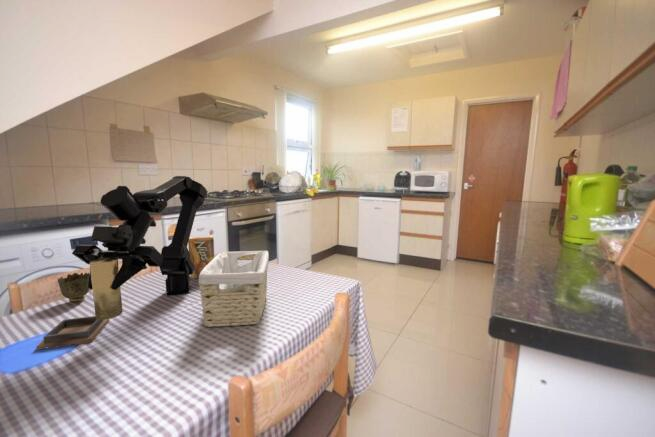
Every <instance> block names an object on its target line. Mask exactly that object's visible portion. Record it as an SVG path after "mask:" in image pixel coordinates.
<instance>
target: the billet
mask: <svg viewBox="0 0 655 437" xmlns="http://www.w3.org/2000/svg"><path fill="white" fill-rule="evenodd" d="M119 270H120V267H119V259H118V258H115V257H107V258H100V259H95V260H92V261H90V265H89V272H90V271H91V280H92V289H91V290H92V296H93V298H92V299H93V307H94V308H93V309H94V316H95V317H96V319H98V320H106V319H109V320H110V319H113V318H117V317H119V316H120V315H122V314H123V303H122V302H123V300H122V291H121V288H122V287H121V286H120V287H119V288H117V289H116V290H113V289H112V288H111V287H112V285H113V282H114V280H115V278H116V276H117V274H118V272H119Z"/></svg>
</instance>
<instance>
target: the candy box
mask: <svg viewBox="0 0 655 437" xmlns="http://www.w3.org/2000/svg"><path fill="white" fill-rule="evenodd" d="M187 246H188V251H189V253H190V260H191V261H192V263H193V264H194V265H195V269H194V272H193V274H190V279H199V275H200V273H201V271H202V270H203V268H204V267H205V266H206V265H208V264H209V263H210V262H211V261H212V260H213V259H214V258H215V240H214V236H213V235H209V236H208V235H207V236H204V235H203V236H192V237H191V236H190V237H189V241H188V245H187Z"/></svg>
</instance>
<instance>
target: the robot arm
mask: <svg viewBox="0 0 655 437" xmlns="http://www.w3.org/2000/svg"><path fill="white" fill-rule="evenodd" d="M177 195H179V200H180V203H181V208H180V211H179V214H178V218H177V221H176V224H175V228H174V233H173V236H172V238H171V242H170V244H168V245H164V246H163V247H162V248H161V250H160V251H161V252H160V251H158V249H157V248H156V247H155V246H154V245H145V244H146V242H147V240H146V239H145V236H146V234H147V232H148V230H149V228H150V227H153V228H155V227H157V223H156V221H155V218H154V216H151V215H150V214H160V213H162V212H163V211H164V210H165V209H166V208H167V207H168V202H169V200H171V199H173V198H174V197H176V196H177ZM207 195H208V190H207V188H206V187H205V186H204V185H203V184H202V183H200V182H198V181H196V180H194V179H193V178H191V177H190V176H189V175H176V176H173V177H172V178H171V179H169V180H168V181H165V182H164V183H162V184H161V185H159V186H157V187H155V188H153V189H145V190H144V189H143V190H140V191H136V192H134V193H132V192H131V189H130V188H129V187H128V186H127V185H118V186H117V187H116V188H115V189H111V190H109V191H108V192H106V193H105V194H103V195H102V196H101V197H100V204H101V205H102V206H103V207H104V208H105V209H106V210H107V211H108V212H109V213H111V214H112V216H113V217H114V218H115V219H116V220H119V221H123V222H122V223H121V224H119V225H118V226H108V225H107V226H106V225H105V226H103V225H102V226H99V225H98V226H97V225H95V226H93V230H92V234H91V236H90V241H93V242H96V241H97V242H100V243H102V244H101V246H102V247H104V248H107V250H103V249H101V248H100V247H99V246H97V245H96V244H78V245H76V246H75V248H74V249H73V250H72V253H71V254H72V255H73V256H75V257H76V258H78V259H79V260H80V261H82V262H84V263H85V264H86V265H89V266H90V261H92V260H95V259H100V258H107V257H115V258H118V260H121V266H120V267H119V272H118V274H117V276H116V278H115V280H114V282H113V285H112V287H111V288H112V289H113V290H116V289H117V288H119V287H120V288H121V286H123V285H124V284H126V282H128V281H129V280H130V279H131V278H133V277H134V276H135V275H137V274H138V273H140V272H142V270H147V269H148V266H149V267H158V268H159V270H160V273H161V275H162V276H166V278H165V282H164V283H165V291H166V296H172V295H173V296H175V295H184V294H189V293H190V291H191V289H192V285H191V280H190V279H191V278H190V274H193V272H194V269H195V265H194V264H193V263H192V261H191V260H190V253H189V247H188V246H189V245H188V241H189V238H190V237H191V234H192V229H193V226H194V221H195V219H196V214H197V211H198V209H200V207H202V205H204V202H205V201H206V200H205V199H206V198H207ZM147 265H148V266H147ZM88 288H89V290H92V280H91V271H90V270H89V282H88Z"/></svg>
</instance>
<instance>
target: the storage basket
mask: <svg viewBox="0 0 655 437" xmlns="http://www.w3.org/2000/svg"><path fill="white" fill-rule="evenodd" d="M238 261H251V262H249V263H246V264H243V265H239V263H238ZM269 261H270V257H269V251H268V250H242V251H241V250H239V251H223V252H220V253H218V254H217V255H216V256H214V259H213V260H212V261H211V262H210V263H209V264H208V265H206V266H205V267H204V268H203V270H202V271H201V273H200V275H199V278H198V285H199V288H198V289H199V292H200V298H201V307H202V317H203V323H202V324H203V325H204V326H205V327H217V328H218V327H230V326H233V327H237V326H249V325H257V324H259V323H260V320H261V318H262V315H263V310H264V308H265V304H266V298H267V296H266V295H267V290H268V268H269Z"/></svg>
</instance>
